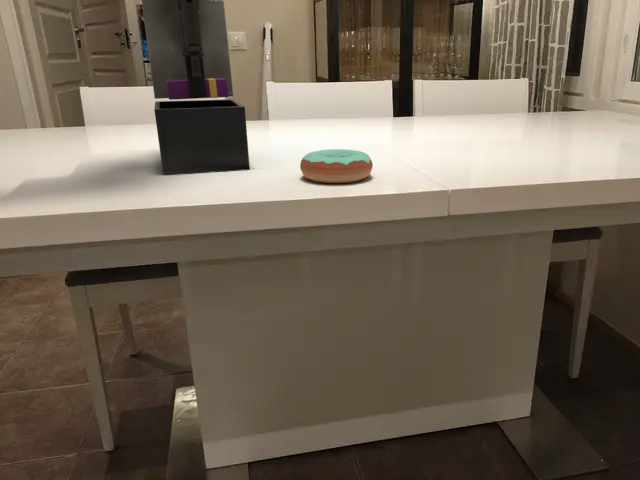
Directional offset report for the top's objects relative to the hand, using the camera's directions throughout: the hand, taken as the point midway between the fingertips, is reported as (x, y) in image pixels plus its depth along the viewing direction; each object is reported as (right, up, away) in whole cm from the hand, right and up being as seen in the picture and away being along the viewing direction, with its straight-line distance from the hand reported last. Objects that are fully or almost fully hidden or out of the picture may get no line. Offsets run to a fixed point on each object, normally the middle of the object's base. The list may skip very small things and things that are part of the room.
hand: (197, 95), depth 98 cm
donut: (+25, -16, -6) cm, 30 cm away
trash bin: (-1, -11, +6) cm, 12 cm away
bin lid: (-4, +11, +7) cm, 13 cm away
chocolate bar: (0, 0, 0) cm, 0 cm away
